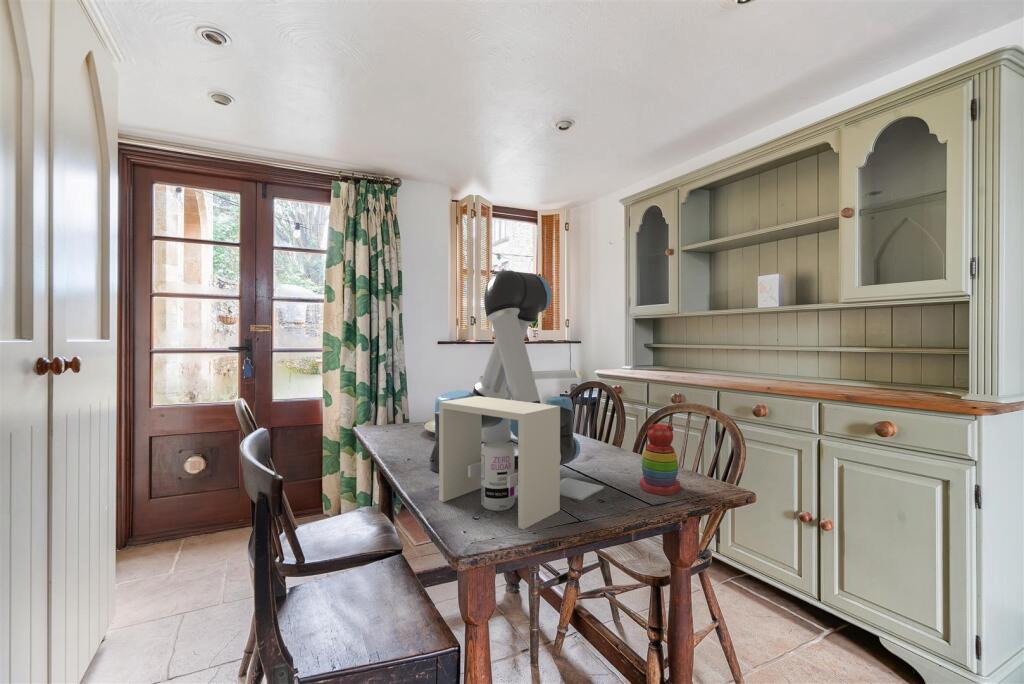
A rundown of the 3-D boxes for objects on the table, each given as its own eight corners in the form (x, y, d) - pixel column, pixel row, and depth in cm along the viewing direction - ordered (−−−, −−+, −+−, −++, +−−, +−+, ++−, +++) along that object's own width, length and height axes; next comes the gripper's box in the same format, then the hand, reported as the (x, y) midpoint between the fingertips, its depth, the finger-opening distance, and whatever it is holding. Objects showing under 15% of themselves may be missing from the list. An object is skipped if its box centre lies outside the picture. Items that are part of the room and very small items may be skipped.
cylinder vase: (481, 436, 191) (481, 375, 191) (512, 437, 190) (512, 375, 189) (476, 443, 179) (476, 378, 178) (509, 444, 177) (509, 378, 177)
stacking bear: (680, 485, 130) (681, 421, 130) (681, 497, 121) (681, 428, 120) (640, 481, 134) (640, 419, 134) (637, 493, 124) (638, 426, 124)
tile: (581, 500, 119) (581, 498, 119) (542, 490, 126) (542, 488, 126) (604, 488, 128) (604, 486, 128) (566, 479, 136) (566, 477, 136)
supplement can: (498, 497, 121) (498, 439, 121) (521, 505, 115) (521, 444, 115) (474, 505, 115) (474, 444, 115) (497, 514, 109) (497, 450, 109)
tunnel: (523, 529, 101) (523, 413, 101) (439, 500, 118) (439, 401, 118) (559, 510, 112) (560, 406, 112) (477, 486, 129) (477, 396, 129)
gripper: (579, 480, 121) (528, 504, 105) (507, 463, 137) (452, 481, 120) (579, 451, 121) (528, 470, 105) (507, 438, 137) (452, 452, 120)
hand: (487, 476), depth 112 cm, fingers open, 12 cm apart
